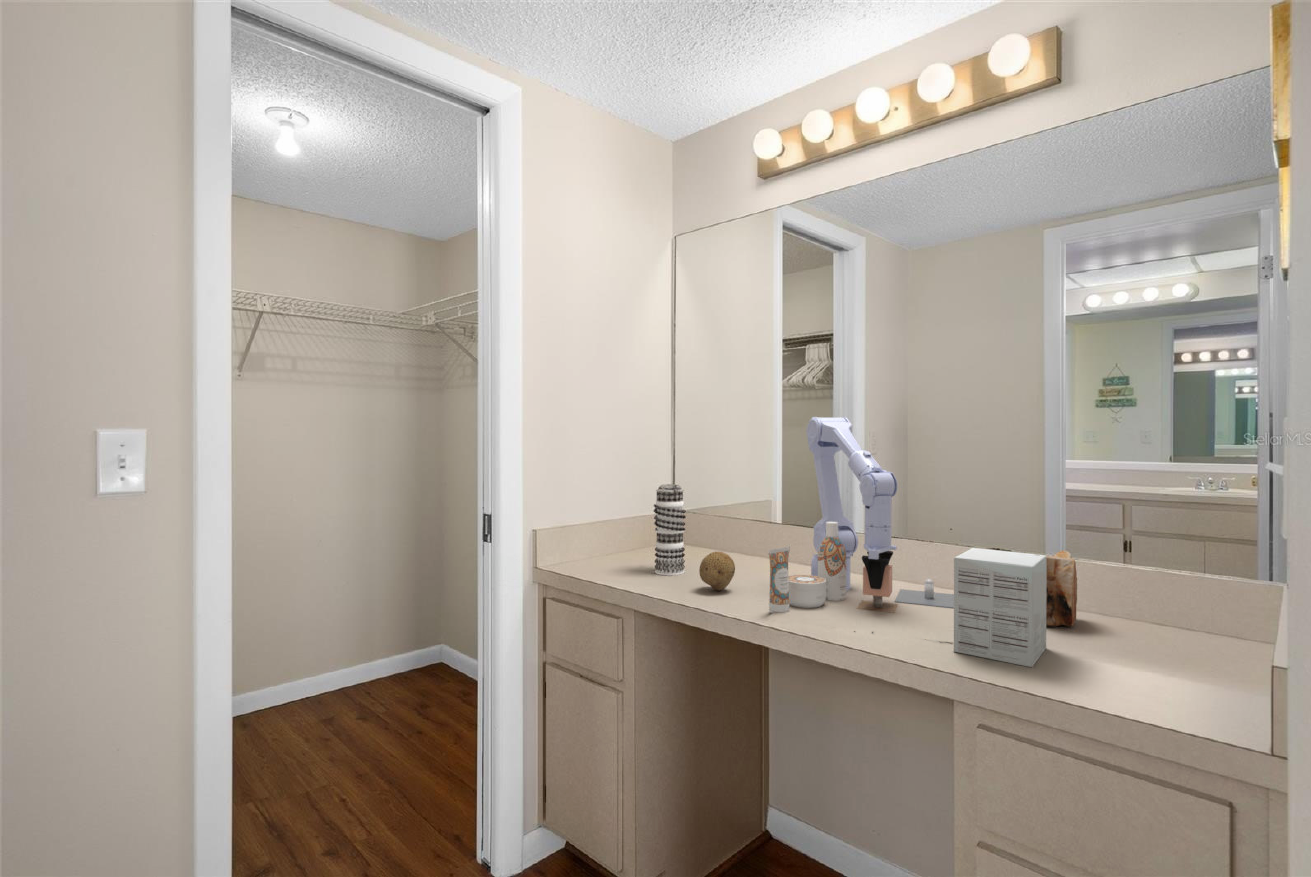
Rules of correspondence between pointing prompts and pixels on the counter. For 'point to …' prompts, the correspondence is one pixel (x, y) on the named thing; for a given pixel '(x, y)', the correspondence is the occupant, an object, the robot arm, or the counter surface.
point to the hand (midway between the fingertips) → (877, 585)
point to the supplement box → (1000, 605)
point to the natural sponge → (717, 570)
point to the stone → (1061, 590)
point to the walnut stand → (877, 605)
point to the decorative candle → (669, 530)
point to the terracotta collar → (886, 584)
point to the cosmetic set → (809, 576)
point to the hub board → (923, 601)
